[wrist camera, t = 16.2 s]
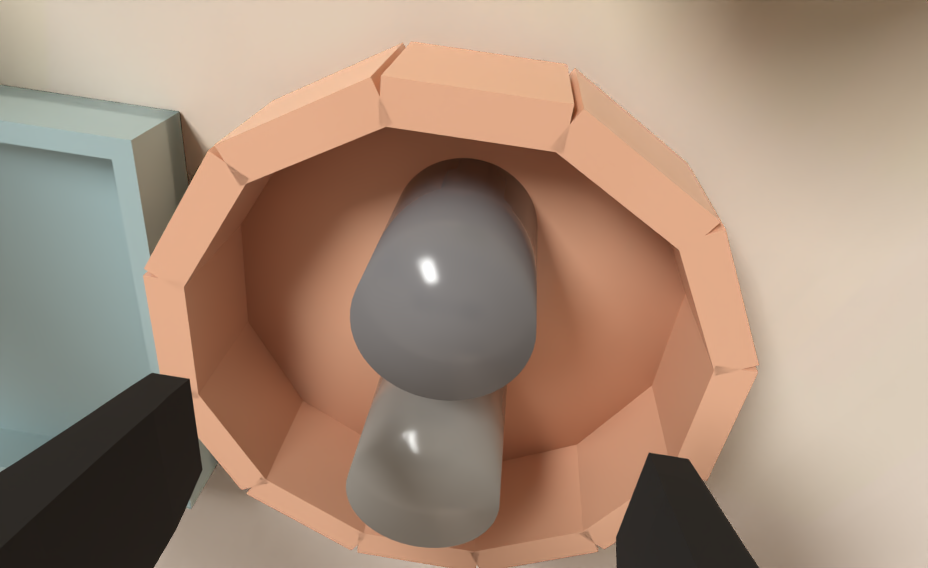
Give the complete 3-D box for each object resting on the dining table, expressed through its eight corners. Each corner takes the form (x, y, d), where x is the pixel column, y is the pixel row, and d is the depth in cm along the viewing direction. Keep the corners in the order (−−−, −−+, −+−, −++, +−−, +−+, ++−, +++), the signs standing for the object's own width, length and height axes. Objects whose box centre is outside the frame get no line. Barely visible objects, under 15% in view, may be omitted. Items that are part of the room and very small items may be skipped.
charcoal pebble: (387, 271, 19) (341, 379, 14) (405, 143, 17) (359, 226, 12) (518, 299, 19) (512, 416, 15) (554, 176, 17) (558, 270, 12)
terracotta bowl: (203, 2, 16) (100, 34, 12) (786, 88, 16) (863, 147, 12) (241, 425, 24) (185, 524, 20) (632, 488, 24) (650, 600, 20)
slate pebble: (377, 405, 22) (338, 529, 17) (394, 311, 19) (354, 426, 15) (492, 431, 22) (480, 560, 17) (520, 339, 20) (516, 462, 15)
